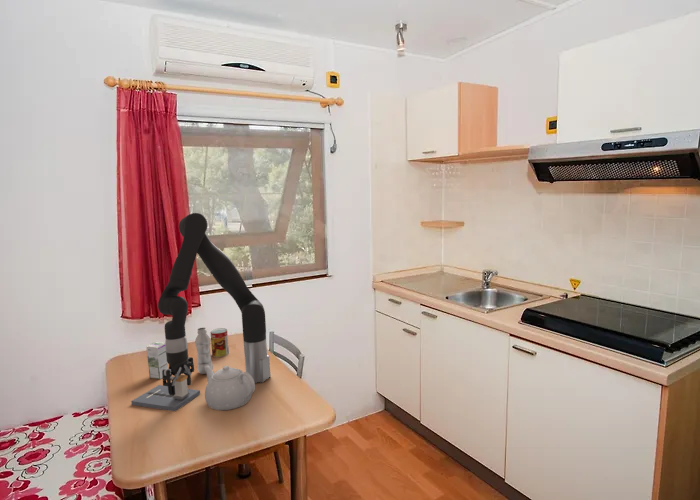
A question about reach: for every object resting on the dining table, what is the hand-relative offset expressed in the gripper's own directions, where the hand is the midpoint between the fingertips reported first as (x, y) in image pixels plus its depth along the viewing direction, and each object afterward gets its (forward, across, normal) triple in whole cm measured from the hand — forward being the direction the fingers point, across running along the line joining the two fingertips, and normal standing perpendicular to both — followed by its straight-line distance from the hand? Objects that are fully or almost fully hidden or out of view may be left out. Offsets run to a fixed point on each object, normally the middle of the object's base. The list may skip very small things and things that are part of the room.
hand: (180, 389), depth 160 cm
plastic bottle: (+5, +25, +8) cm, 27 cm away
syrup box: (+5, +17, +26) cm, 31 cm away
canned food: (+5, +46, +15) cm, 49 cm away
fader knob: (+3, 0, 0) cm, 3 cm away
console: (+5, 0, +7) cm, 8 cm away
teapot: (+5, +5, -18) cm, 19 cm away
